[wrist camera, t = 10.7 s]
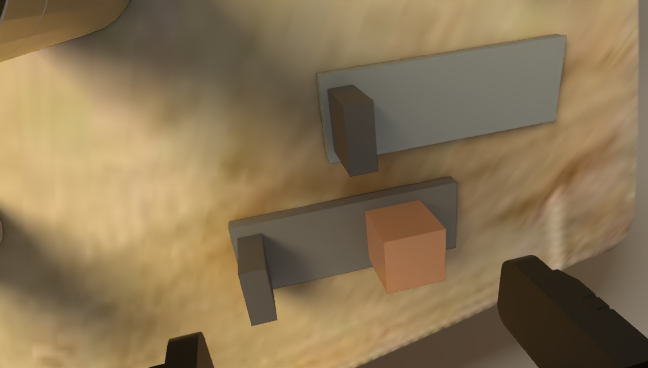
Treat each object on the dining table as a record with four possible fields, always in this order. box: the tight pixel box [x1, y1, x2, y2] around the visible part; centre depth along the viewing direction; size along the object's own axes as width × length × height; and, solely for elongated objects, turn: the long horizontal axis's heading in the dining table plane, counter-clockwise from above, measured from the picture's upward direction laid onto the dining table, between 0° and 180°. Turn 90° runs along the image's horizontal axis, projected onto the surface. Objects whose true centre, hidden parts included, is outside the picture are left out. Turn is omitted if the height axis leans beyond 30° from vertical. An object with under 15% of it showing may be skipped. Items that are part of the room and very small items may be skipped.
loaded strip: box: [229, 177, 457, 326], centre depth 35 cm, size 20×7×6 cm, turn 97°
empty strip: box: [316, 34, 566, 177], centre depth 32 cm, size 20×7×6 cm, turn 97°
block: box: [365, 200, 446, 294], centre depth 35 cm, size 5×5×5 cm
